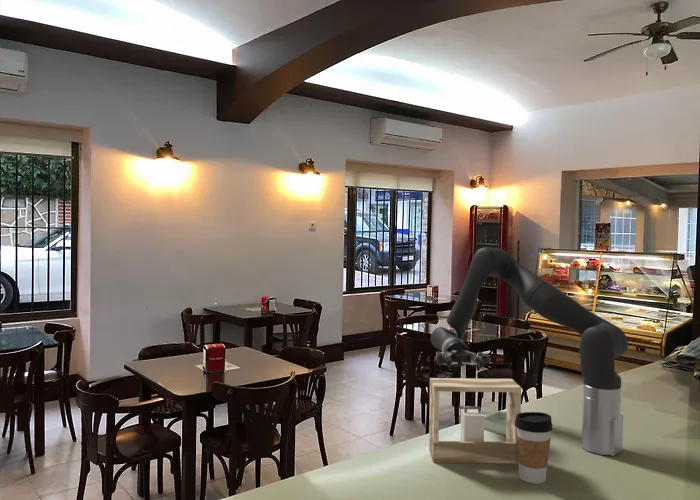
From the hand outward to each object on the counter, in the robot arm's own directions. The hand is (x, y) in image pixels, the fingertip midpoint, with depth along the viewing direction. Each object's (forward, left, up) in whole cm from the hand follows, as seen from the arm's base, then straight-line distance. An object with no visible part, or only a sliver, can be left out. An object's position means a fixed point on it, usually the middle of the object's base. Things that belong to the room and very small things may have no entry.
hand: (466, 364), depth 159 cm
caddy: (-8, +9, -21) cm, 24 cm away
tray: (-4, -15, -21) cm, 26 cm away
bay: (-9, +10, -21) cm, 25 cm away
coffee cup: (-26, +11, -21) cm, 35 cm away
